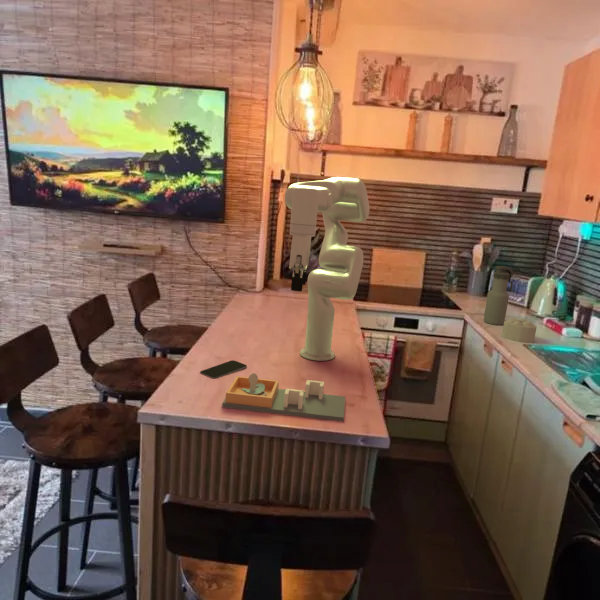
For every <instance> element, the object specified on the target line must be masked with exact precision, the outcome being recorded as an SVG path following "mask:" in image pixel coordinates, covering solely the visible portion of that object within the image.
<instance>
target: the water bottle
mask: <svg viewBox="0 0 600 600" xmlns="http://www.w3.org/2000/svg"><path fill="white" fill-rule="evenodd" d="M495 269H496V271H494V273H493V282H492V285H491V286H492V287H491V290H489V291H488V292H487V297H486V300H485V301H486V302H485V306H484V307H485V308H484V315H483V322H484V323H486V324H489V325H492V326H502V325H503V326H504V321H506V316H507V312H508V311H507V309H508V304H509V298H510V294H509V293H508V292H512V290H513V287H514V283H513V281H512V278H513V277H514V270H513V269H512V268H511V267H509V266H504V265H496V266H495ZM504 270H505V271H504ZM508 282H509V283H510V287H509V289H508V288H507V287H508V284H509V283H508Z"/></svg>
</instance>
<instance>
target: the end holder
mask: <svg viewBox="0 0 600 600" xmlns="http://www.w3.org/2000/svg"><path fill="white" fill-rule="evenodd" d="M279 382H280V381H279V380H277V379H276V380H274V379H265V378H258V381H257V383H256V384H259V383H262V384H264V385H265V389H264V392H266V393H267V395H266V396H260V395H262V393H260V394H259V395H251V394H247V393H246V392H244V391H242V390H241V388H243V389H250V382H249V376H239V375H237V376H235V378H234V380H233V381H232V383H231V384H230V386H229V387H228V389H227V390H226V392H225V398H226V402H227V403H235V404H244V405H252V406H260V407H269V408H271V407H272V404H273V402H274V399H275V397H276V394H277V391H278V389H279ZM256 388H258V387H256Z"/></svg>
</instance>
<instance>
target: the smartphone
mask: <svg viewBox="0 0 600 600" xmlns="http://www.w3.org/2000/svg"><path fill="white" fill-rule="evenodd" d="M247 368H248V365H247V364H245V363H242V362H240V361H237V360H235V359H234V360H229V361H225V362H223V363H220V364H217V365H214V366H211V367H209V368H205V369H203V370H200V372H199V373H200V374H201V375H203V376H205V377H208V378H211V379H220V378H223V377H225V376H228V375H231V374H234V373H237V372H240V371H243V370H245V369H247Z"/></svg>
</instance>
